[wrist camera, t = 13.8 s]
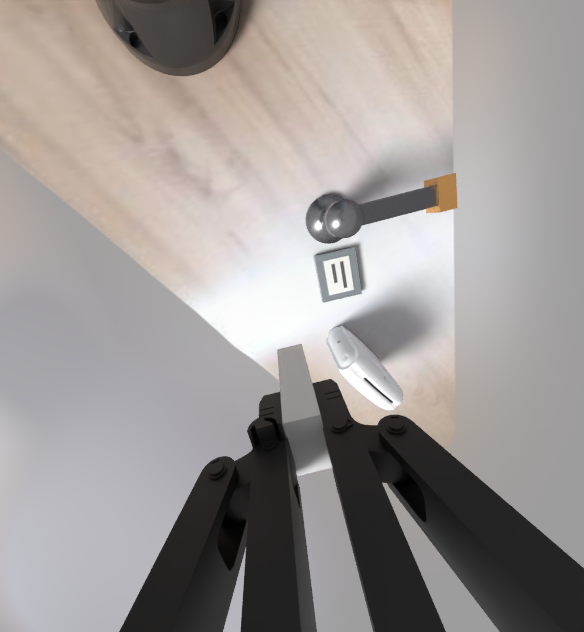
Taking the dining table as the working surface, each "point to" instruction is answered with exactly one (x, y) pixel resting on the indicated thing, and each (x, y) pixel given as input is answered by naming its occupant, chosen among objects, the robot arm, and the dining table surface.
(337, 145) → the dining table surface
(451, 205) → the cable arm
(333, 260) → the label tile
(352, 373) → the photo printer
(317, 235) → the round-base stand
